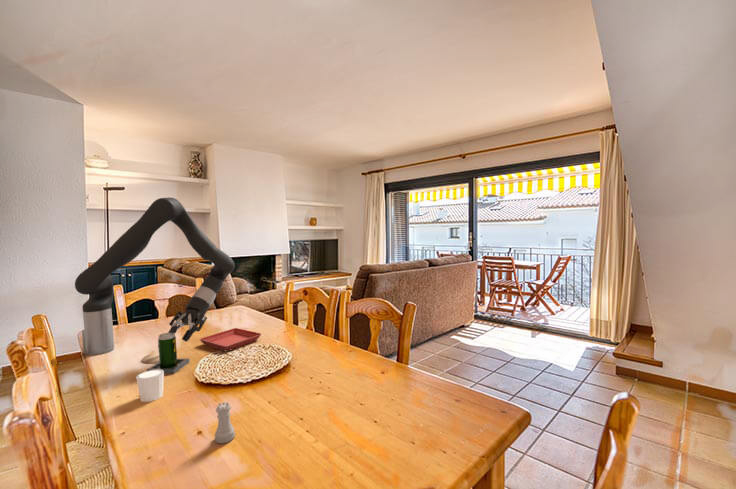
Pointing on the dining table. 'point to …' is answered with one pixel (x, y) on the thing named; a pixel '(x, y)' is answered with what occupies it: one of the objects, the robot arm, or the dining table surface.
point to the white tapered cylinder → (150, 385)
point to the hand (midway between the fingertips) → (176, 339)
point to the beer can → (167, 350)
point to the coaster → (151, 358)
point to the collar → (173, 370)
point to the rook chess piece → (224, 424)
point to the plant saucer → (230, 339)
